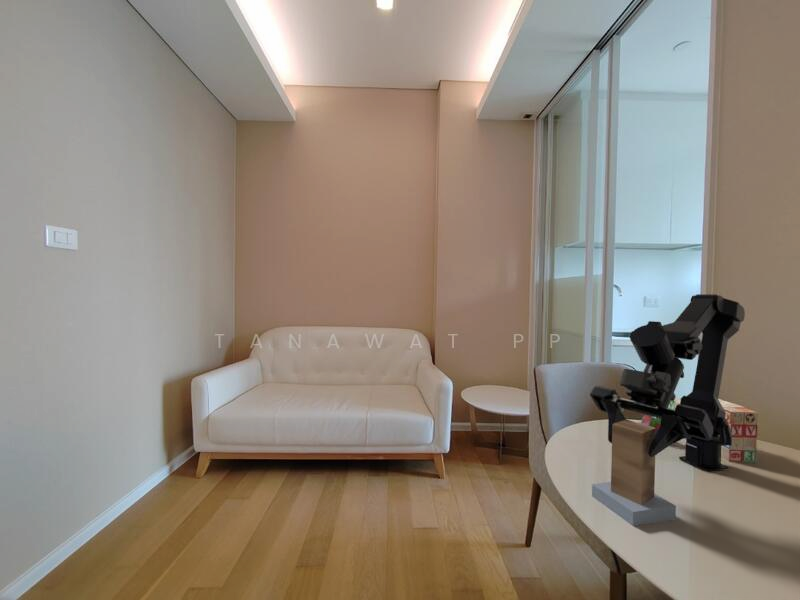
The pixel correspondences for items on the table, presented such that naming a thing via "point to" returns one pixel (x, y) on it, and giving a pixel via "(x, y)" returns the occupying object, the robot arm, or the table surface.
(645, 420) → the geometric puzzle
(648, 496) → the walnut block
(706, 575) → the table surface
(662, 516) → the slate base block
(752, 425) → the stack of blocks
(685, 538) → the table surface
